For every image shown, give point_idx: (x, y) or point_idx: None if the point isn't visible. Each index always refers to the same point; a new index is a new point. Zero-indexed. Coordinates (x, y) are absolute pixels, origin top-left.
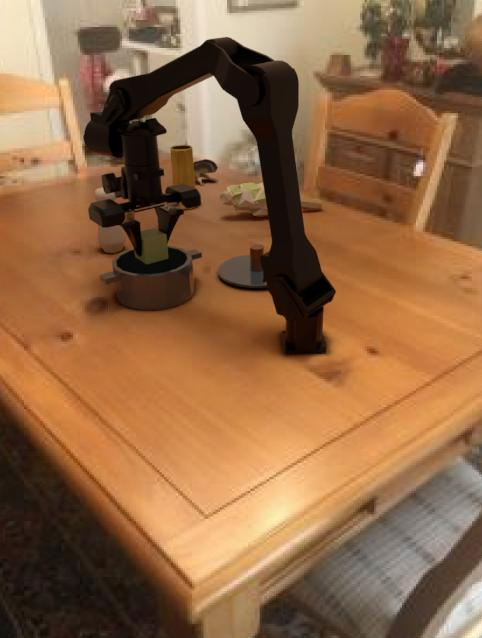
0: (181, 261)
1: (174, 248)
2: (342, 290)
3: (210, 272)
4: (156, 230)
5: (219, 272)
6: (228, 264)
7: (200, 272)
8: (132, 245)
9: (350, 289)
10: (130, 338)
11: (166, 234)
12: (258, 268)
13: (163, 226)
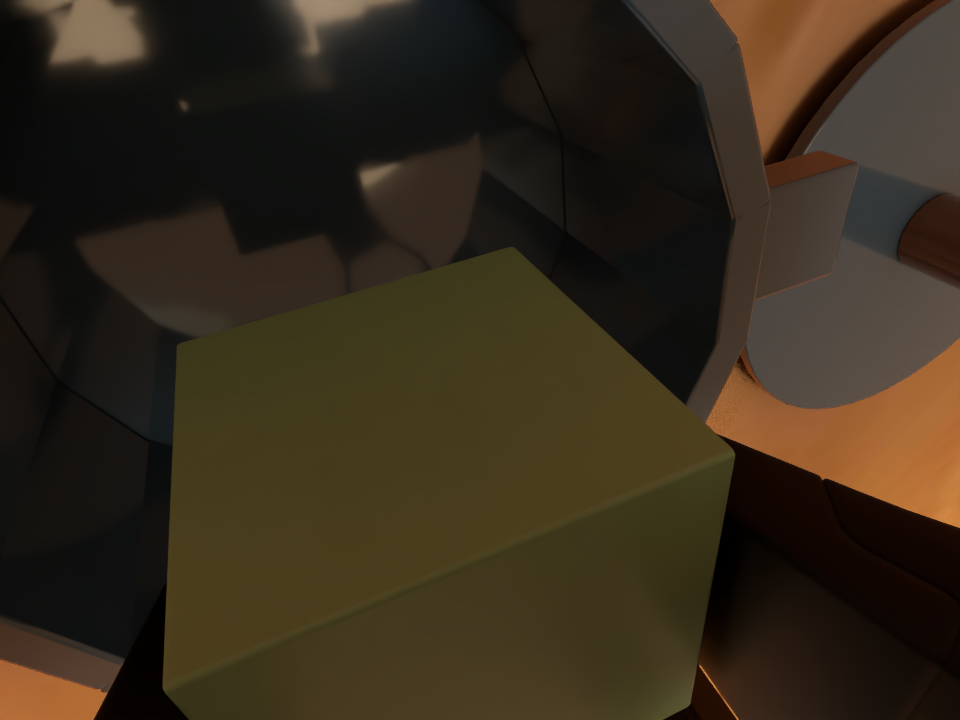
0: (654, 218)
1: (720, 172)
2: (930, 447)
3: (777, 60)
4: (683, 583)
5: None
6: (903, 87)
7: (736, 20)
8: (137, 650)
9: (947, 446)
10: (71, 698)
11: (703, 662)
12: (922, 273)
13: (798, 715)
